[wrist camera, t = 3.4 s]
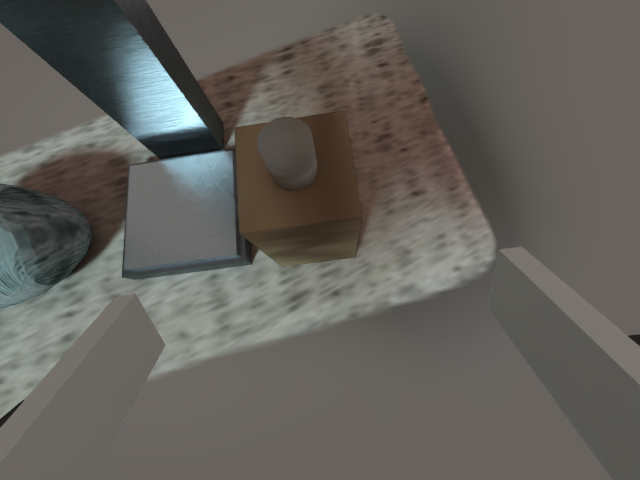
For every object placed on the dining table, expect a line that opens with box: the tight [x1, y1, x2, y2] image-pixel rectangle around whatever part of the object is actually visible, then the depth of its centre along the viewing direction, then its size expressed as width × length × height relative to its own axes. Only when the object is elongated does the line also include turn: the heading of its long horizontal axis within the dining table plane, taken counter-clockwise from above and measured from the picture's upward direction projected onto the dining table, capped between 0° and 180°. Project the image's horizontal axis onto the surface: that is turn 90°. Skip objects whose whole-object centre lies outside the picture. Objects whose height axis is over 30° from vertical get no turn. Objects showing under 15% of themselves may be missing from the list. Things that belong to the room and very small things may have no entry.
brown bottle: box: [235, 111, 362, 267], centre depth 19 cm, size 6×6×12 cm
